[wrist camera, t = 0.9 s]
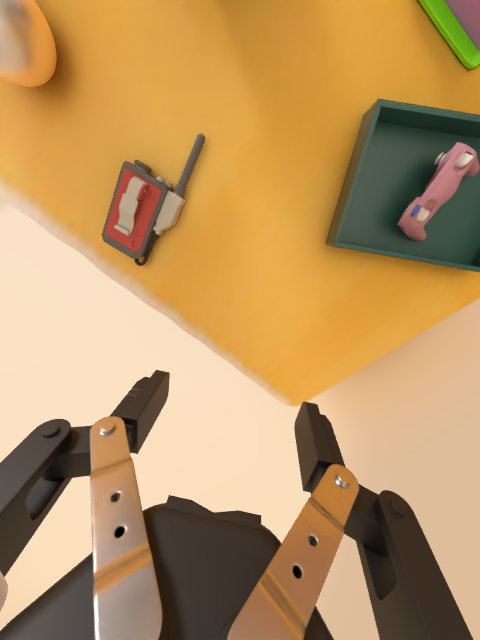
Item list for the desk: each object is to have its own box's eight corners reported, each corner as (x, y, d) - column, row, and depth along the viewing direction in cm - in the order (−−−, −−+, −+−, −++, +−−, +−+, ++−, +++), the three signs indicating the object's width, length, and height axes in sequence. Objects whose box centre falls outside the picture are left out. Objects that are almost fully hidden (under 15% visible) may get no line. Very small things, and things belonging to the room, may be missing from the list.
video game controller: (439, 158, 30) (457, 126, 24) (478, 170, 28) (508, 140, 22) (387, 231, 33) (391, 220, 27) (418, 245, 32) (430, 237, 26)
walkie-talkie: (157, 271, 38) (212, 142, 30) (144, 277, 34) (204, 130, 26) (108, 243, 37) (152, 102, 29) (88, 245, 33) (134, 82, 25)
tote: (363, 114, 28) (378, 98, 24) (541, 143, 27) (582, 130, 24) (325, 243, 34) (332, 246, 30) (470, 269, 33) (494, 274, 30)
